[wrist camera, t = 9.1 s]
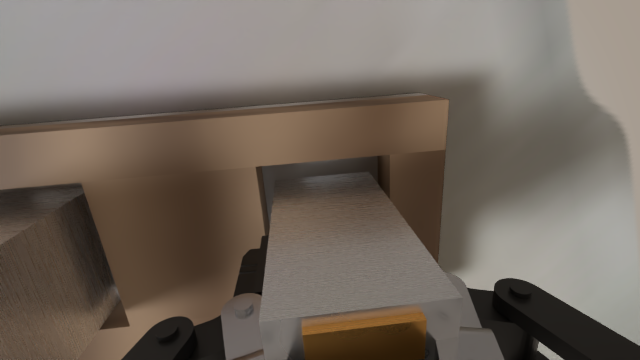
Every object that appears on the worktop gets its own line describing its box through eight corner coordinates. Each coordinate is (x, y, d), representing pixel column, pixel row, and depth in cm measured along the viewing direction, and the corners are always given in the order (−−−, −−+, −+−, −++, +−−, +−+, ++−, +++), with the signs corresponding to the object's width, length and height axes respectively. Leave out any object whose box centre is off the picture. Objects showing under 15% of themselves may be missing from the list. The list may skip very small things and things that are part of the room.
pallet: (20, 330, 18) (-30, 380, 15) (-78, 131, 14) (-170, 149, 11) (412, 284, 19) (433, 323, 16) (419, 92, 15) (449, 99, 12)
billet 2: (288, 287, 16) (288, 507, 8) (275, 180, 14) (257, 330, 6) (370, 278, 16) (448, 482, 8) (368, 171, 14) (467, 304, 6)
